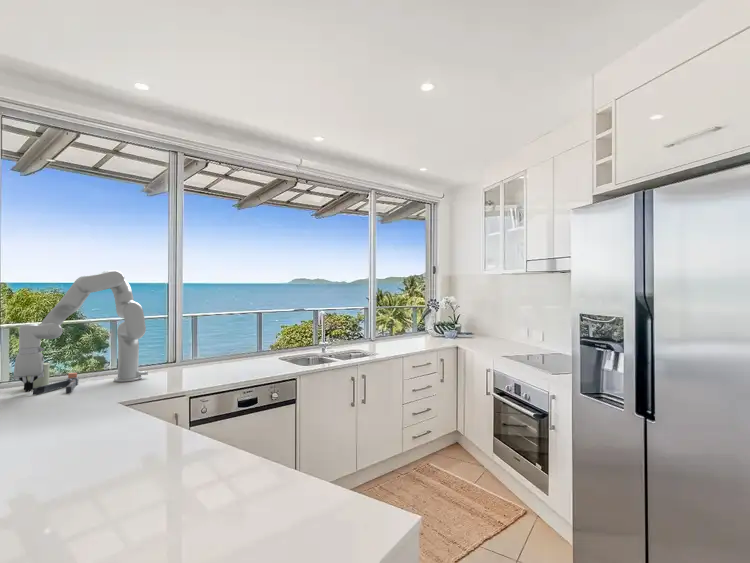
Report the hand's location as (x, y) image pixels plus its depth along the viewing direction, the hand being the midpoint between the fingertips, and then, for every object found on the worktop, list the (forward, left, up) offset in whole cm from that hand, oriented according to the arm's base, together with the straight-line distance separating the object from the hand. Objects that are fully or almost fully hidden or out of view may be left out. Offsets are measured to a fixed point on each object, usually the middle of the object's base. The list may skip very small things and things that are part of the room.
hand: (28, 391), depth 186 cm
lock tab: (-15, -15, +2) cm, 21 cm away
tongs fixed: (-15, -5, -1) cm, 15 cm away
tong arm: (-8, -4, -1) cm, 9 cm away
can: (-1, -15, -2) cm, 15 cm away
